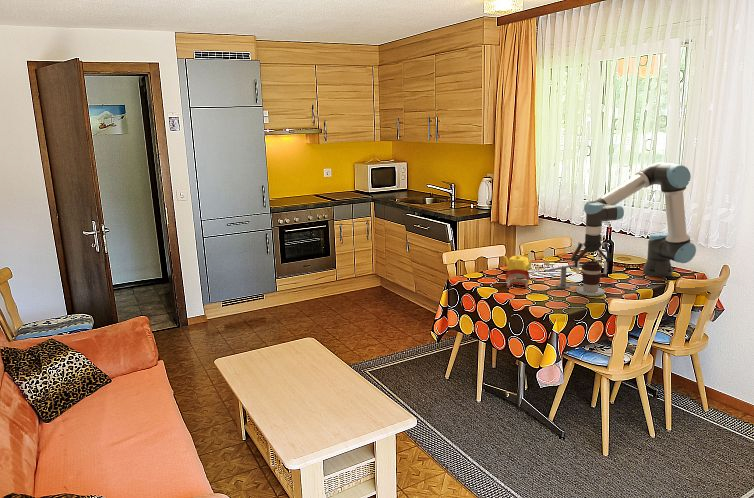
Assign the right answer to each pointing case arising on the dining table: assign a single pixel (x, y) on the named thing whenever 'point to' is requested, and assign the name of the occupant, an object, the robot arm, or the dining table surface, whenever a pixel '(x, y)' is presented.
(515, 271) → the toy
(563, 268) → the balance
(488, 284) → the dining table surface
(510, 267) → the teapot
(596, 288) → the coffee cup
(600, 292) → the pale grey round disc
